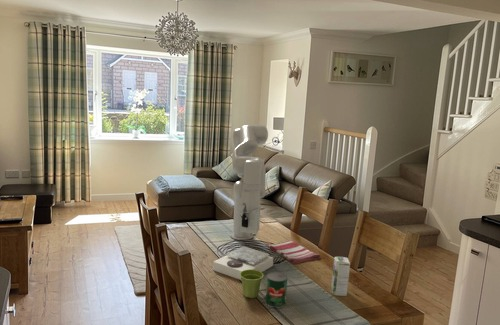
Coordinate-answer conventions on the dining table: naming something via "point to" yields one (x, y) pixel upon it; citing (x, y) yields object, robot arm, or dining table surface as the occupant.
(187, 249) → the dining table surface
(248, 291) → the plant pot
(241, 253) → the scale pan
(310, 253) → the dish towel
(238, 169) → the robot arm
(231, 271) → the scale
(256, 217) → the small box
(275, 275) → the canned tomato
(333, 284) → the syrup box
